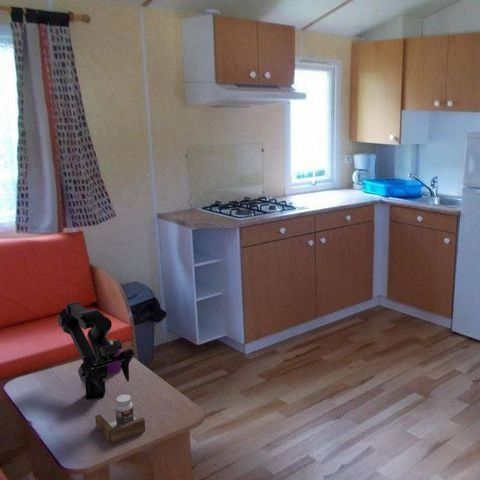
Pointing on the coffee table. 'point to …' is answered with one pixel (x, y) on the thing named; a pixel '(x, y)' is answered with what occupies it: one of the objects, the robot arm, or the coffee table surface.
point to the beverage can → (114, 366)
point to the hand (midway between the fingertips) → (115, 385)
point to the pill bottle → (124, 410)
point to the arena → (119, 428)
